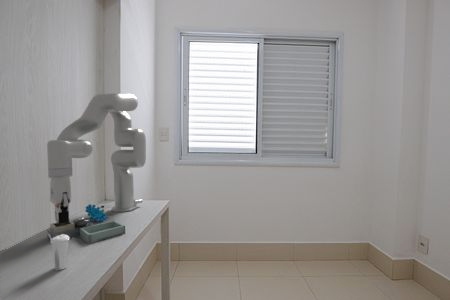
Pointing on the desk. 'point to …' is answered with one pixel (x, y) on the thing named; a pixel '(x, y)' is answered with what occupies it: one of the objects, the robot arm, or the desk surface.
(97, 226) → the tray
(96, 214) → the gear
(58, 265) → the milkshake
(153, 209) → the desk surface
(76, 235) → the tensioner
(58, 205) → the pin
